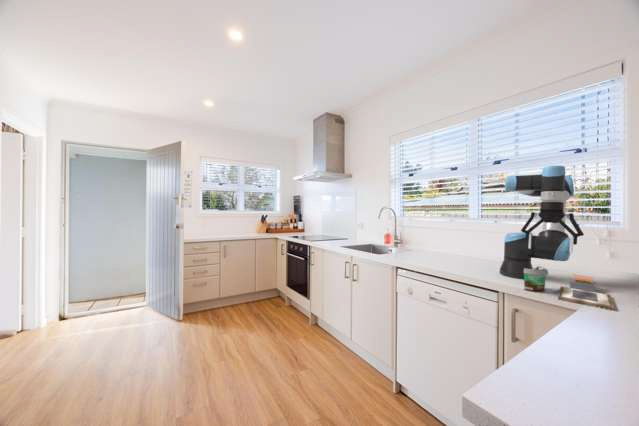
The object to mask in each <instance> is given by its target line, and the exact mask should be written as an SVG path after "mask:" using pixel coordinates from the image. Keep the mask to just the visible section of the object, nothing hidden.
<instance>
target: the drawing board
mask: <svg viewBox="0 0 639 426" xmlns="http://www.w3.org/2000/svg"><path fill="white" fill-rule="evenodd" d="M557 299H558V300H560V301H564V302H567V303H568V302H569V303H574V304H578V305H583V306H584V305H585V306H587V307H588V306H589V307H593V306H595V307H594V308H598V307H600V308H599V309H603V308H605V309H604V310H608V309H609V310H608V311H612V310H614V311H615V306H614V302H613V300H612V297H611V294H607V293H601V292H591V291H585V290H580V289H574V288H570V287H567V286H562V285H561V286H560V289H559V293H558V298H557Z"/></svg>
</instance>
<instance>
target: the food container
mask: <svg viewBox="0 0 639 426" xmlns="http://www.w3.org/2000/svg"><path fill="white" fill-rule="evenodd" d="M523 273H524V279H523V281H524V282H523V283H524V284H523V286H524V287H523V288H524V291H526V292H531V293H532V292H533V293H544V292H545V287H546V280H547V275H549V269H548V268H546V267H544V266H540V265H536V267H534V268H530V269H526V268H524V272H523Z"/></svg>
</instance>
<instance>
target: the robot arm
mask: <svg viewBox="0 0 639 426" xmlns="http://www.w3.org/2000/svg"><path fill="white" fill-rule="evenodd" d="M566 173H567V172H566V166H564V165H547V166H545V167H543V168H542V171H541V174H528V175H526V174H525V175H509V176H506V177H505V179H504V188H505V190H506V191H507V192H508V191H510V192H513V191H514V192H516V191H517V193H518V194H521V195H523V196H528V197H529V196H530V197H536V198H537V197H539V198H540V205H539V206H540V208H539V209H540V210H539V212H533V211H532V212H530V217H529V218H528V220H527V221H526V222H525V224H524V225H523V227H522V228H521V229H520V231H519V232H509V233H507V234H505V236H504V241H503V242H504V248H503V251H504V253H503V260H502V262H501V265H500V268H499V274H500V275H502V276H506V277H509V278H515V279H520V280H522V279H523V280H524V273H523V272H524V268H526V269H530V268H533V265H532V259H538V260H539V259H541V260H549V261H554V262H568V261H569V259H570V256H571V253H574V245H577V244H578V237H581V236H584V232H583V230H582V228H580V226H579V224H578V223H577V221H576V220H575V218H574V217H575V215H574V213H572V212H569V213H566V211H567V201H568V200H570V198H571V197H573V196H574V193H575V188H574V179H573V177H571V176H570V175H566ZM537 217H539V218H540V219H539V220H538V221H537V222H536V223H535V224H533V225H532V226H531V227H529V226H530V224H531V223H532V221H533V220H534V218H537ZM566 218H567V219H568V220H569V221H570V223H571V225H572V226H573V228H574V230H575V231H576V232H577V233H576V232H575V231H574V230H573V229H572V228H571V227H570V226H568V225H567V224H566ZM541 224H542V230H541V231H540V232H538V235H534V234H533V230H535V229H536V228H538V227H539V226H540V225H541ZM528 227H529V229H527V228H528ZM526 229H527V230H526ZM566 231H567V232H568V233H569V234H570V235H572V236H570V237H569V234H568V233H567V232H566Z"/></svg>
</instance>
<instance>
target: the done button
mask: <svg viewBox="0 0 639 426" xmlns="http://www.w3.org/2000/svg"><path fill="white" fill-rule="evenodd" d="M572 276H573V277H572V278H573V279H574V280H577V282H581V283H587V284H589V282H594V277H592V276H586V275H585V276H584V275H579V274H573V275H572Z"/></svg>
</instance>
